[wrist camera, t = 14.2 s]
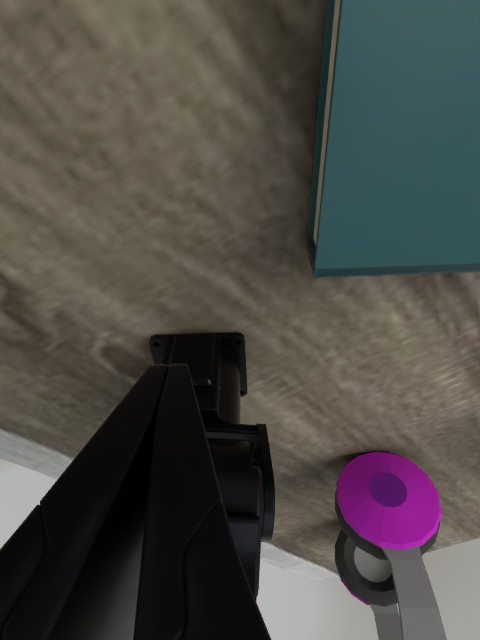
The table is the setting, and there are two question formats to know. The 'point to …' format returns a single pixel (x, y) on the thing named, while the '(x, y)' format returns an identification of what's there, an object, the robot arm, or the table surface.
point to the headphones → (389, 543)
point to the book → (397, 140)
